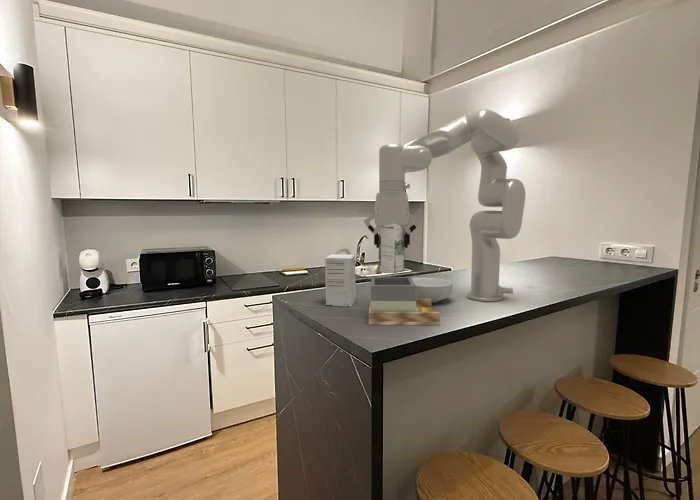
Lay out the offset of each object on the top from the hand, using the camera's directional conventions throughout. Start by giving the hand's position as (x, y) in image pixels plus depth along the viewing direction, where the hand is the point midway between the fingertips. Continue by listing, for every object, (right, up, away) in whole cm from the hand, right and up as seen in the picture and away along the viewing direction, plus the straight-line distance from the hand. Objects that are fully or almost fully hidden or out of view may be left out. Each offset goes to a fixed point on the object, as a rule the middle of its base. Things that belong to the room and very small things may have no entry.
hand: (391, 247), depth 109 cm
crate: (0, -20, +2) cm, 20 cm away
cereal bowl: (+16, -19, +21) cm, 33 cm away
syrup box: (0, -8, +1) cm, 8 cm away
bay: (+3, -21, +2) cm, 22 cm away
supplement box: (-16, -20, +19) cm, 32 cm away
